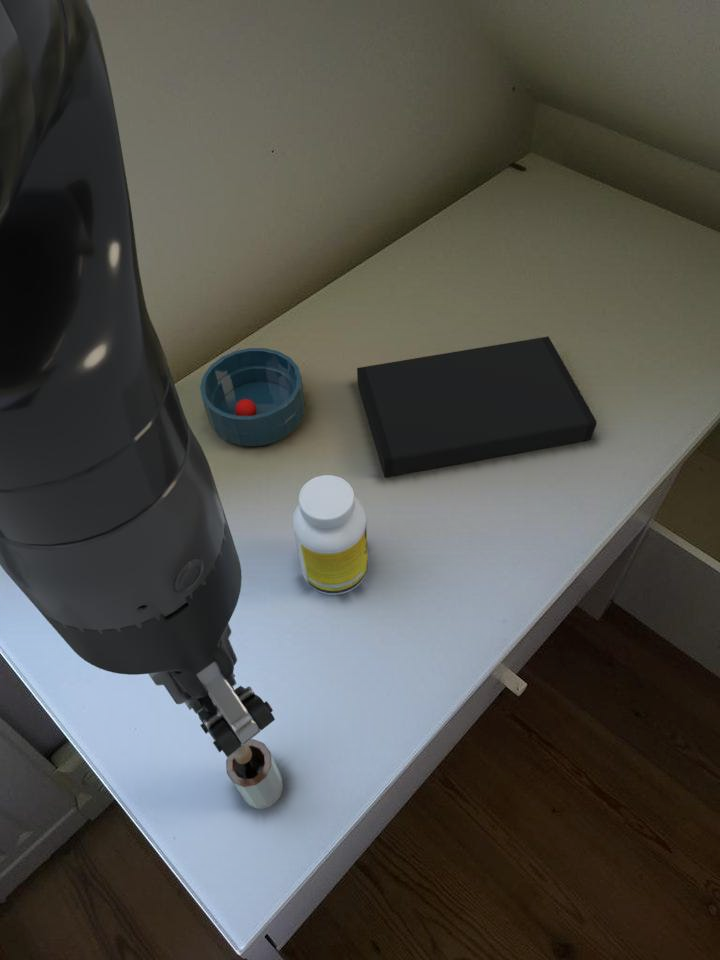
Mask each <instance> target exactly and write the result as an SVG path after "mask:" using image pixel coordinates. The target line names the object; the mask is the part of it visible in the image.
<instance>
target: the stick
mask: <svg viewBox="0 0 720 960" xmlns="http://www.w3.org/2000/svg"><path fill="white" fill-rule="evenodd" d="M232 755H233V757H234V758H235V760H236V762H237V763H239V764H246V763H247V762H249V761H250V759H251V757H252V752H251V749H250V747H249V745H248V743H247V742H246V743H245V744H244V745H242V744H241V747H240V748H239V749H237V750H236V751H235V752H234V753H232Z"/></svg>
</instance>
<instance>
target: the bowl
mask: <svg viewBox="0 0 720 960" xmlns="http://www.w3.org/2000/svg"><path fill="white" fill-rule="evenodd" d="M199 389H200V390H199V391H200V395H201V399H202V402H203V403H202V404H203V407H204V409H205V412H206V415H207V419H208V423H209V426H210V427H211V429H212V430H213V431H214V432H215V434H216V435H217V436H218V437H220V438H221V439H223V440H225V441H226V442H227V443H231V444H234V445H238V446H243V447H260V446H265V445H269V444H274V443H275V442H277V441H279V440H282V439H283V438H285V437H287V436H289V435H290V434H291V433H292V432H293V431H294V430H295V429H296V428H298V426H299V424H300V423H301V422H302V419H303V417H304V416H305V409H306V400H305V392H304V385H303V377H302V373H301V370H300V368H299V366H298V364H297V363H295V361H294V360H293V359H292V357H290V356H288V355H286V354H284V353H283V352H281V351H279V350H275V349H271V348H266V347H248V348H244V349H238V350H235V351H232V352H230V353H227V354H225V355H223V356H221V357H219V358H218V359H217V360H215V361H214V362H213V363H212V364H211V365H209V367H208V368H207V370H206V371H205V372H204V373H203V375H202V377H201V381H200V385H199ZM243 399H248V400H251V401H252V402H254V404H255V405H256V409H257V411H256V415H253V416H237V415H236V413H235V406H236V404H237V403H238V402H239V401H240V400H243Z"/></svg>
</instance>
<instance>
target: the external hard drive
mask: <svg viewBox="0 0 720 960" xmlns="http://www.w3.org/2000/svg"><path fill="white" fill-rule="evenodd" d="M356 375H357V377H356V378H357V388H358V391H359V394H360V398H361V401H362V405H363V408H364V412H365V415H366V418H367V422H368V426H369V430H370V432H371V436H372V439H373V443H374V447H375V450H376V453H377V456H378V460H379V463H380V467H381V470H382V474H383V477H384V478H388V477H393V476H398V475H399V476H400V475H404V474H409V473H414V472H415V473H416V472H421V471H425V470H432V469H437V468H442V467H448V466H453V465H459V464H464V463H469V462H476V461H480V460H486V459H492V458H496V457H503V456H508V455H513V454H520V453H525V452H530V451H537V450H542V449H547V448H552V447H559V446H563V445H568V444H575V443H580V442H585V441H590V440H592V437H593V435H594V432H595V429H596V427H597V420H596V418H595V416H594V414H593V412H592V411H591V409H590V407H589V406H588V404H587V402H586V400H585V398H584V397H583V394H582V393H581V392H580V389H579V387H578V385H577V384H576V382H575V380H574V379H573V377H572V375H571V373H570V372H569V370H568V368H567V366H566V364H565V363H564V361H563V359H562V358H561V356H560V354H559V351H557V349H556V347H555V345H554V344H553V341H552V340H551V338H550V336H543V337H542V336H541V337H536V338H531V339H524V340H523V339H522V340H518V341H512V342H511V341H510V342H507V343H500V344H493V345H488V346H482V347H475V348H468V349H463V350H457V351H451V352H445V353H440V354H433V355H427V356H421V357H416V358H415V357H414V358H407V359H403V360H402V359H401V360H397V361H391V362H385V363H379V364H373V365H366V366H359V367H356Z"/></svg>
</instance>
